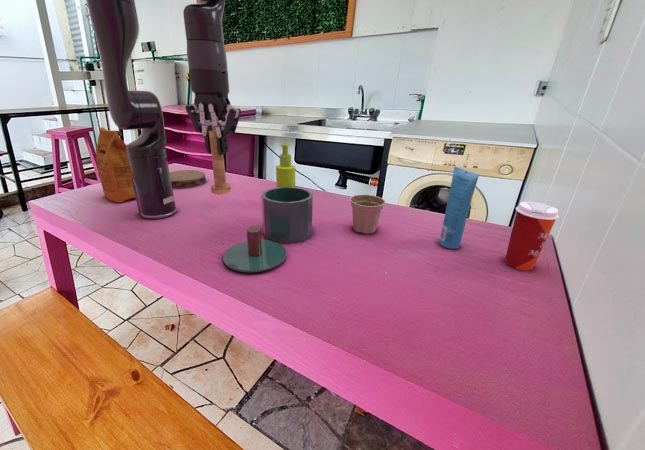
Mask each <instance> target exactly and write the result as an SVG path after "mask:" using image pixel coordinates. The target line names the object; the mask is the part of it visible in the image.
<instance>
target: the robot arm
mask: <svg viewBox="0 0 645 450" xmlns="http://www.w3.org/2000/svg"><path fill="white" fill-rule="evenodd" d="M85 1H86V5H87V8H88V13H89V17H90V21H91V24H92V28H93V32H94V37H95V40H96V44H97V49H98V53H99V58H100V64H101V70H102V77H103V84H104V90H105V96H106V103H107V107H108V111H109V114H110V117H111V120H112V121H113V123H114V125H115V126H116V127H117V128H118V129H120V130H123V131H133V130H141V134H140V135H139V136H138V137H137V138H136V139H134V140H132V141H131V142H129V143H127V144H126V145H127V146H126V151H127V155H128V159H129V164H130V168H131V172H132V176H133V181H134V182H133V183H132V184H133V189H134V193H135V197H136V198H135V202H136V205H137V210H138V214H139V215H140V217H142V218H143V219H147V220H148V219H149V220H157V219H164V218H167V217H171V216H173V215H175V214H176V213H177V211H178V210H177V206H176V201H175V194H174V189H173V188H172V183H171V177H170V172H171V171H170V167H169V161H168V155H167V151H166V146H167V136H166V128H165V120H164V119H165V118H164V113H163V108H162V105H161V101H160V100H159V98H158V97H157V95H156V94H155V93H153V92H152V91H150V90H135V89H134V90H132V89H131V90H130V89H129V87H128V77H127V75H128V74H127V71H128V64H129V61H130V58H131V55H132V54H133V52H134V49H135V46H136V45H137V41H138V38H139V35H140V24H139V18H138V11H137V6H136V1H135V0H85ZM225 4H226V0H198V3H190V4H186V5H185V6H184V9H183V12H182V13H183V25H184V32H185V40H186V58H187V66H188V74H189V82H190V87H191V89H190V90H191V92H192V93H193V94H194V99H193V103H192V104H189V105H188V104H187V105H185V107H184V109H185V111H186V113H187V115H188V117H189V119H190V122H191V123H192V126H193V128H194V131H195V132H196V133H200V134H201V135H202V137H203V140H204V148H205V150H206V153H207V154H211V147H210V138H209V131H210V130H216V133H217V137H218V138H217V147H218V154H219V155H223V156H224V155H227V154H228V152H229V143H228V141H229V140H228V137H229V136H233V135H235V133H236V130H237V127H238V124H239V121H240V118H241V115H242V110H241V108H237V107H234V106H233V105H231V101H230V99H229V94H230V82H229V70H228V59H227V52H226V47H225V38H224V26H223V18H224V11H225Z"/></svg>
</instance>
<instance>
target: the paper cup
mask: <svg viewBox="0 0 645 450" xmlns="http://www.w3.org/2000/svg"><path fill="white" fill-rule="evenodd" d="M515 211H516V212H515V216H514V221H513V224H512V227H511V228H512V229H511V233H510V237H509V240H508V245H507V248H506V253H505V258H504V262H505V264H507V266H509V267H510V268H513V269H516V270H518V271H525V272H528V271H532V270H533V269H534V267H535V265H536V263H537V261H538V260H539V257H540V255H541V252H542V251H543V248H544V246H545V244H546V242H547V240H548V238H549V235H550V234H551V231H552V229H553V227H554V225H555V222H556V220H558V219H559V217H560V216H559V210H558V209H557V208H556V207H555V206H552V205H549V204H546V203H542V202H537V201H521V202H519V204H518V206H516V207H515Z"/></svg>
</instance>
